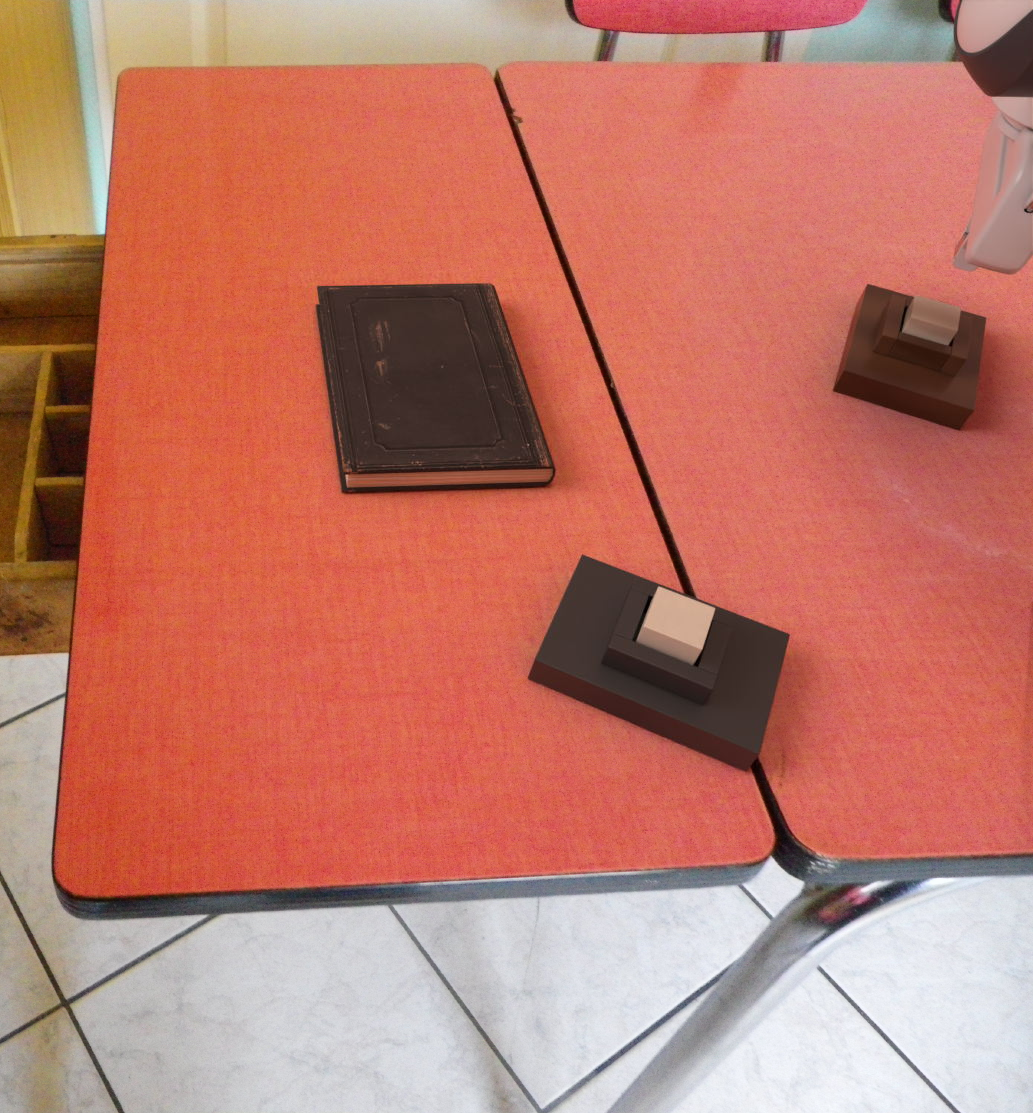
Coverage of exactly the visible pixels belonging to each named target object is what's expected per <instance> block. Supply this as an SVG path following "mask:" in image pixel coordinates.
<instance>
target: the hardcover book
mask: <svg viewBox="0 0 1033 1113" xmlns="http://www.w3.org/2000/svg"><path fill="white" fill-rule="evenodd" d="M316 290H317V300H318V303H317V304H315V309H316V317H317V324H318V332H319V338H320V346H321V353H322V360H323V361H322V362H323V366H324V373H325V381H326V388H327V396H328V403H329V410H330V417H331V424H332V431H333V438H334V447H335V453H336V459H337V467H338V475H339V482H340V488H341V493H345V494H346V493H378V492H410V491H442V490H443V491H444V490H476V489H477V490H478V489H481V490H482V489H509V488H510V489H511V488H543V487H546V486H548V485H550V484H551V483H552V482H553V481H554V478H555V476H556V471H557V468H556V466H555V462H554V459H553V456H552V454H551V450H550V448H549V444H548V441H547V439H546V436H545V432H544V430H543V427H542V424H541V420H540V418H539V414H538V412H537V409H536V405H535V403H534V400H533V397H532V394H531V391H530V387H529V384H528V382H527V378H526V376H525V372H524V370H523V367H522V363H521V361H520V358H519V355H518V352H517V349H516V346H515V342H514V340H513V336H512V334H511V331H510V328H509V325H508V322H507V319H506V316H505V313H504V310H503V308H502V305H501V301H500V299H499V295H498V292H497V289H496V287H495V285H494V284H493V283H490V282H478V283H477V282H476V283H475V282H473V283H471V282H470V283H419V284H418V283H416V284H415V283H414V284H412V283H411V284H355V285H354V284H353V285H352V284H351V285H345V284H344V285H317V286H316Z"/></svg>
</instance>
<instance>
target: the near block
mask: <svg viewBox="0 0 1033 1113" xmlns="http://www.w3.org/2000/svg"><path fill="white" fill-rule="evenodd" d="M658 587H662V588H665V589H667V590H670V591H672V592H675V593H678V594H680V595H683V596H685V597H688V598H690V599H693V600H696V601H698V602H701V603H703V604H706V605H709V606H711V607H714V608H715V612H714V615H713V618H712V621H711V624H710V627H709V630H708V634H707V637H706V640H705V643H704V646H703V649H702V651H701V653H700V654H699V656H698V658H697V660H696V661H695V663H694V665H691V664H688V663H686V662H683V661H681V660H678V659H676V658H673V657H671V656H668V655H666V654H664V653H661V652H659V651H656V650H654V649H651V648H649V647H646V646H644V645H641V644H639V643H636V640H637V637H638V635H639V632H640V629H641V627H642V624H643V621H644V619H645V616H646V614H647V611H648V608H649V606H650V603H651V601H652V599H653V597H654V595H655V593H656V591H657V589H658ZM790 637H791V634H790V633H788V632H785V631H783V630H781V629H778V628H776V627H773V626H770V625H767V624H764V623H762V622H759V621H757V620H754V619H752V618H749V617H746V616H744V615H741V614H739V613H736V612H733V611H731V610H729V609H725V608H723V607H722V606H721V607H720V606H718V605H715V604H713V603H710V602H707V601H705V600H703V599H700V598H697V597H696V596H695V597H694V596H692V595H689V594H687V593H684V592H682V591H678V590H677V589H673V588H671V587H669V586H666V585H663V584H661V583H658V582H656V581H652V580H650V579H648V578H646V577H643V576H640V575H638V574H635V573H632V572H630V571H627V570H624V569H622V568H619V567H616V566H614V565H612V564H609V563H606V562H603V561H601V560H598V559H595V558H593V557H590V556H588V555H585V554H581V556H580V558H579V560H578V562H577V565H576V566H575V569H574V571H573V573H572V575H571V577H570V579H569V582H568V584H567V587H566V589H565V591H564V593H563V596H562V598H561V599H560V602H559V604H558V606H557V609H556V611H555V612H554V616H553V618H552V620H551V622H550V624H549V626H548V629H547V631H546V633H545V636H544V638H543V640H542V641H541V644H540V647H539V649H538V651H537V653H536V655H535V658H534V660H533V662H532V665H531V667H530V668H531V669H530V670H529V674H528V676H527V679H528V680H530V681H532V682H535V683H537V684H539V685H543V686H544V687H547V688H549V689H551V690H553V691H556V692H558V693H561V694H563V695H565V696H568V697H570V698H573V699H575V700H577V701H579V702H582V703H584V704H587V705H588V706H591V707H594V708H596V709H598V710H600V711H603V712H605V713H607V714H610V715H612V716H615V717H617V718H619V719H621V720H624V721H626V722H628V723H631V724H633V725H636V726H638V727H640V728H642V729H646V730H648V731H650V732H652V733H654V734H656V735H659V736H662V737H664V738H666V739H668V740H670V741H673V742H675V743H677V744H679V745H682V746H685V747H687V748H690V749H692V750H694V751H696V752H699V753H701V754H703V755H706V756H708V757H711V758H713V759H715V760H717V761H719V762H722V763H725V764H727V765H729V766H731V767H733V768H736V769H738V770H740V771H743V772H748V770H749V769H750V768H751V766H752V765H753V764H754V763H755V761H756V759H757V758H758V757H759V756H760V754H761V751H762V747H763V742H764V739H765V735H766V731H767V727H768V723H769V719H770V717H771V716H770V715H771V711H772V707H773V704H774V699H775V695H776V692H777V688H778V684H779V681H780V677H781V673H782V668H783V664H784V659H785V657H786V653H787V649H788V644H789V641H790Z"/></svg>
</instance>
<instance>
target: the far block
mask: <svg viewBox="0 0 1033 1113" xmlns="http://www.w3.org/2000/svg"><path fill="white" fill-rule="evenodd" d="M863 289H864V290H863V291H862V293H861V294H860V296H859V298H858V300H857V302H856V304H855V308H854V312H853V315H852V318H851V322H850V326H849V330H848V334H847V337H846V342H845V345H844V348H843V352H842V355H841V359H840V363H839V366H838V370H837V373H836V377H835V381H834V384H833V387H832V391H833V392H836V393H838V394H843V395H846V396H848V397H852V398H855V399H859V400H861V401H864V402H868V403H871V404H874V405H877V406H881V407H884V408H887V409H891V410H893V411H896V412H900V413H903V414H906V415H909V416H912V417H916V418H919V419H922V420H925V421H927V422H928V421H929V422H931V423H934V424H938V425H941V426H944V427H947V428H951V429H954V430H957V431H961V430H962V429H963V427H964V426H965V424H966V423H967V422H968V420H969V418H970V417H971V416H972V415H973V413H974V412H975V408H976V401H977V394H978V385H979V378H980V370H981V364H982V363H981V361H982V355H983V348H984V346H983V345H984V341H985V340H984V339H985V333H986V332H985V331H986V324H987V317H986V316H983V315H979V314H977V313H972V312H968V311H966V310H962V309H961V313H960V320H959V326H958V331H957V333H956V334H955V336H954V337H953V339H952V340H951V342H950V344H949V345H948V346H947V345H944V344H940V343H937V342H933V341H930V340H927V339H923V338H920V337H916V336H913V335H910V334H906V333H903V332H902V327H903V323H904V318H905V314H906V311H907V309H908V307H909V305H910V304H911V302H912V300H913V299H914V297H915V296H912V295H909V294H905V293H901V292H898V291H895V290H892V289H888V288H884V287H882V286H881V287H880V286H877V285H873V284H870V283H867V284H866V285H865V288H863Z"/></svg>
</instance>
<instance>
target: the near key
mask: <svg viewBox="0 0 1033 1113" xmlns="http://www.w3.org/2000/svg"><path fill="white" fill-rule="evenodd" d="M714 612H715V608H714V607H711V606H709V605H706V604H703V603H701V602H698V601H696V600H693V599H690V598H688V597H685V596H683V595H680V594H678V593H675V592H672V591H670V590H667V589H665V588H662V587H658V589H657V591H656V593H655V595H654V597H653V599H652V601H651V603H650V606H649V608H648V611H647V614H646V616H645V619H644V621H643V624H642V627H641V629H640V632H639V635H638V637H637V640H636V643H639V644H641V645H644V646H646V647H649V648H651V649H654V650H656V651H659V652H661V653H664V654H666V655H668V656H671V657H673V658H676V659H678V660H681V661H683V662H686V663H688V664H691V665H694V663H695V661H696V660H697V658H698V656H699V654H700V653H701V651H702V649H703V646H704V643H705V640H706V637H707V634H708V630H709V627H710V624H711V621H712V618H713V615H714Z"/></svg>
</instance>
